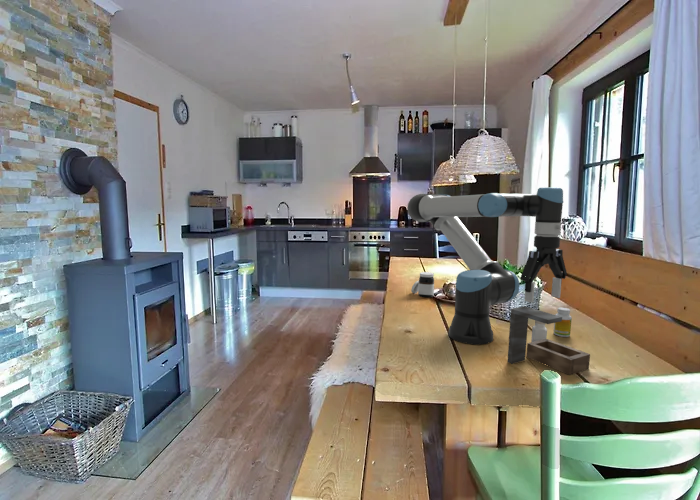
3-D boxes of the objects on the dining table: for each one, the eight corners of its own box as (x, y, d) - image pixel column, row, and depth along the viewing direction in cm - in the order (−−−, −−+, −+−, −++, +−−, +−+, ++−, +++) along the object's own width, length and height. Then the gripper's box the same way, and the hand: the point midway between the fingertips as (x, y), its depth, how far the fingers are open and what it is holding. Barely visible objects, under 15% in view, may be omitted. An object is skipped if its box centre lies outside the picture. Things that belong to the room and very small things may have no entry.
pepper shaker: (546, 348, 129) (548, 320, 128) (532, 346, 130) (535, 319, 129) (543, 343, 133) (545, 316, 132) (530, 342, 134) (532, 315, 133)
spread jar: (433, 299, 191) (434, 275, 190) (410, 297, 194) (410, 274, 192) (434, 293, 203) (434, 271, 201) (412, 291, 206) (412, 270, 204)
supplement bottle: (572, 337, 139) (574, 311, 138) (555, 336, 140) (558, 310, 139) (567, 332, 144) (569, 307, 143) (551, 331, 145) (553, 306, 144)
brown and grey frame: (507, 362, 118) (511, 308, 115) (545, 352, 126) (549, 301, 124) (550, 381, 105) (555, 322, 103) (588, 368, 114) (594, 313, 111)
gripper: (531, 237, 118) (527, 306, 120) (581, 235, 129) (576, 297, 132) (511, 235, 124) (507, 300, 127) (560, 233, 136) (556, 293, 139)
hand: (542, 299), depth 129 cm, fingers open, 13 cm apart
